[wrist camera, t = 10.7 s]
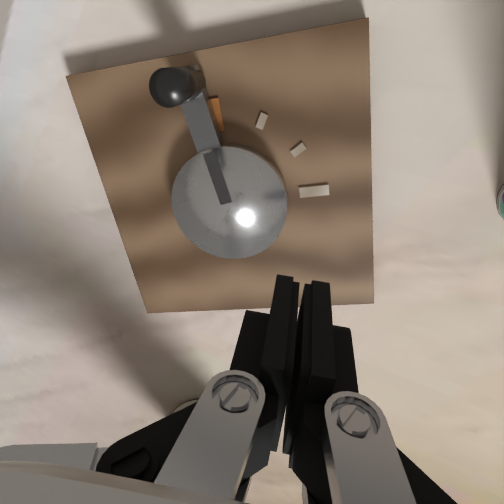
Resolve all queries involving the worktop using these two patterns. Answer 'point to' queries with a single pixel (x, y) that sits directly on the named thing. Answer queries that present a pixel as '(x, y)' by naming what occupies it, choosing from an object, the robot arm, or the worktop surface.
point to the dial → (220, 177)
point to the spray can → (501, 202)
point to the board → (259, 138)
